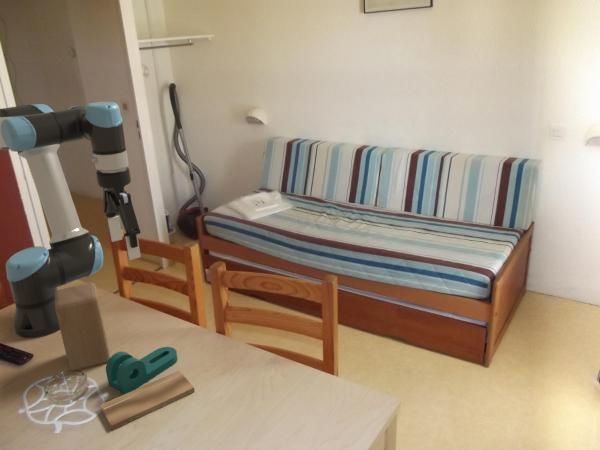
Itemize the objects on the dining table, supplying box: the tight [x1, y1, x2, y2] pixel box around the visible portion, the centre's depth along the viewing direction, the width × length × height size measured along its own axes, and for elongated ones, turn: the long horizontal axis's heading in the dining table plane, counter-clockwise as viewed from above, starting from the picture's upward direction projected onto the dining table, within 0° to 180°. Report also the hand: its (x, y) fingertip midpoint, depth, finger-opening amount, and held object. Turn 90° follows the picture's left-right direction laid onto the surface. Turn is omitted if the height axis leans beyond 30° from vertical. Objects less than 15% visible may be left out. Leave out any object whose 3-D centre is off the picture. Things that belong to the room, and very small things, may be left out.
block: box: [55, 282, 111, 372], centre depth 136 cm, size 10×10×20 cm
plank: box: [99, 370, 195, 431], centre depth 123 cm, size 8×20×1 cm, turn 127°
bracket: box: [105, 346, 178, 396], centre depth 132 cm, size 18×7×8 cm, turn 142°
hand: (125, 248), depth 131 cm, fingers open, 13 cm apart
